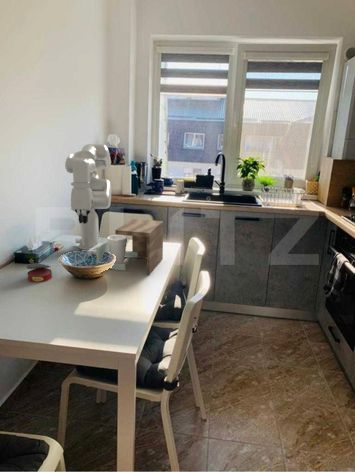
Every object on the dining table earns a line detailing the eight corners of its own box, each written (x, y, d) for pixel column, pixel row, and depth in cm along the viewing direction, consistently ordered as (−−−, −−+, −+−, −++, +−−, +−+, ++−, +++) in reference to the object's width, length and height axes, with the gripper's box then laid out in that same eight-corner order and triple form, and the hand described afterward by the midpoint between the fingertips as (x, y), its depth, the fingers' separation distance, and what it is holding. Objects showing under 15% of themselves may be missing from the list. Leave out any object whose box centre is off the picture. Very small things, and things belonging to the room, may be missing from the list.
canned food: (28, 290, 155) (17, 269, 154) (46, 280, 164) (35, 261, 163) (42, 284, 149) (31, 263, 148) (60, 274, 157) (50, 254, 156)
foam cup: (117, 267, 172) (116, 241, 168) (104, 263, 177) (103, 237, 174) (131, 262, 179) (130, 237, 176) (118, 258, 185) (117, 234, 181)
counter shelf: (116, 271, 166) (115, 230, 161) (133, 256, 189) (132, 219, 184) (149, 275, 163) (149, 232, 158) (162, 258, 186) (163, 221, 180)
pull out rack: (85, 266, 171) (84, 246, 169) (102, 253, 190) (101, 235, 187) (124, 270, 167) (124, 250, 165) (138, 257, 186) (138, 238, 184)
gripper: (62, 185, 170) (65, 223, 175) (93, 187, 167) (94, 225, 172) (70, 183, 177) (72, 220, 182) (100, 185, 174) (101, 222, 179)
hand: (83, 222), depth 177 cm, fingers closed
